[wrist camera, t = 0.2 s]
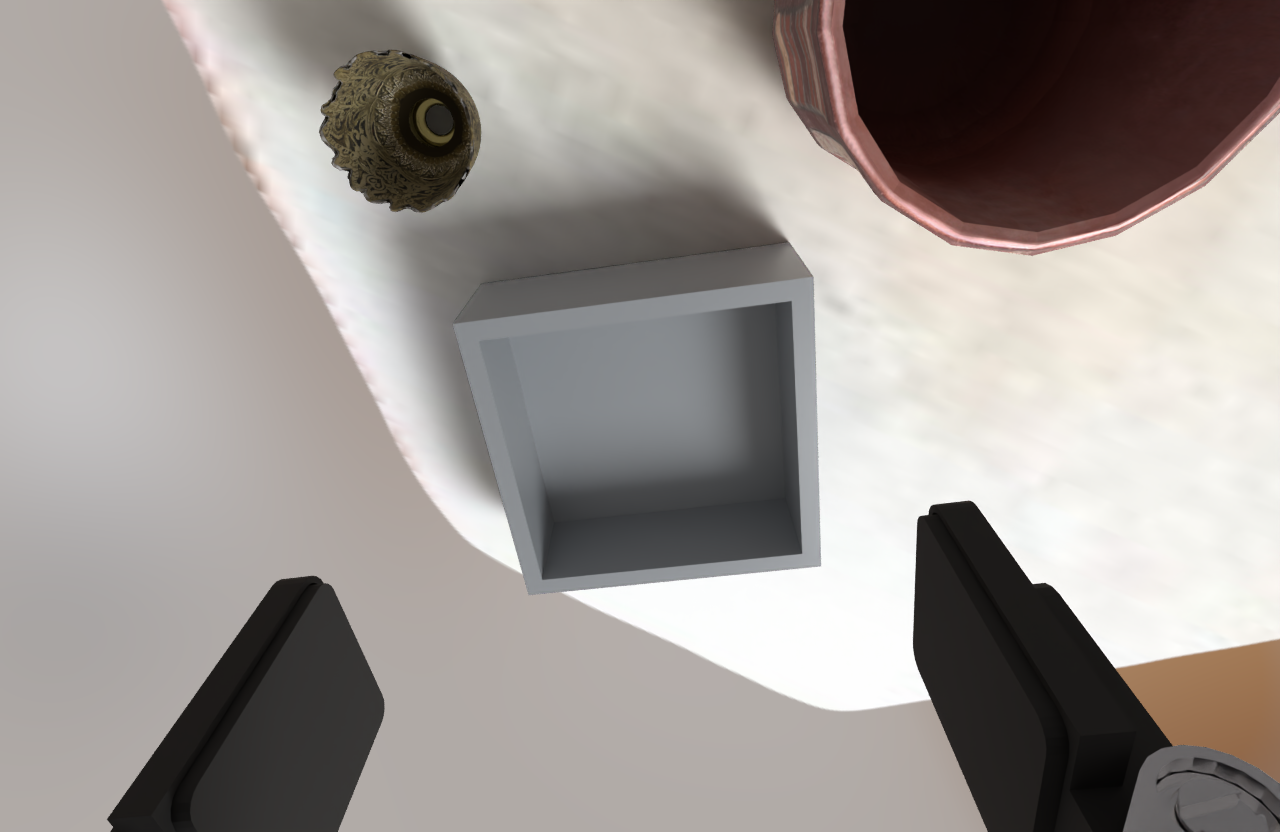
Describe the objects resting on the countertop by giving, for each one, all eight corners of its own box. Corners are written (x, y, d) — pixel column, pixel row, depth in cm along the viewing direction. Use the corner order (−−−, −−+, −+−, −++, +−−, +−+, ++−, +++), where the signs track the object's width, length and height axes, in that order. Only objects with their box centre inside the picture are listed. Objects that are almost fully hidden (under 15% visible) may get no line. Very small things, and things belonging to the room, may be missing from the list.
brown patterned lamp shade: (415, 18, 39) (362, 12, 32) (527, 106, 41) (500, 119, 34) (354, 133, 42) (293, 151, 35) (461, 210, 44) (424, 242, 37)
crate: (481, 283, 46) (452, 324, 39) (789, 242, 44) (813, 276, 38) (543, 528, 55) (528, 595, 48) (800, 501, 53) (820, 566, 47)
